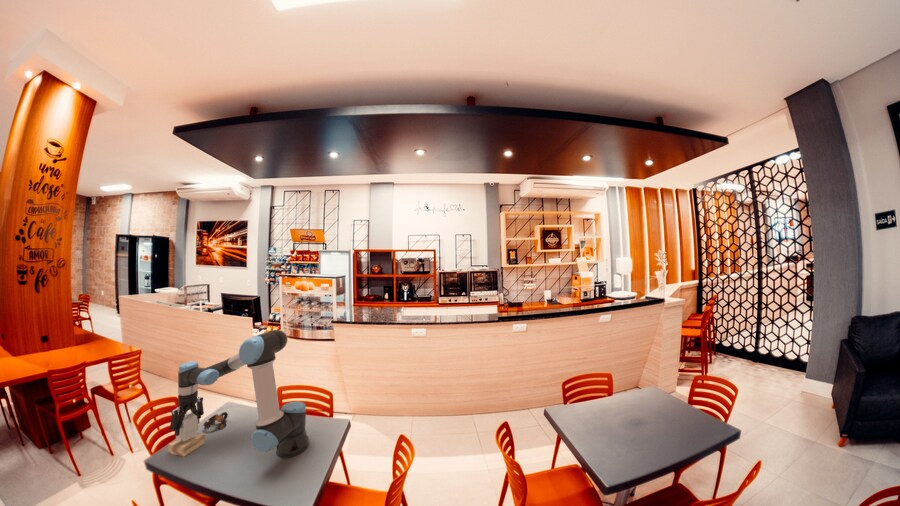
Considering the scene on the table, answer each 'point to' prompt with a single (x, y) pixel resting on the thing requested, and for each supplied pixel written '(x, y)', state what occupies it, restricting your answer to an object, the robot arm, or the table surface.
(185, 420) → the small box
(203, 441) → the oak block
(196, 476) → the table surface
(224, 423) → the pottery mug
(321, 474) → the table surface
